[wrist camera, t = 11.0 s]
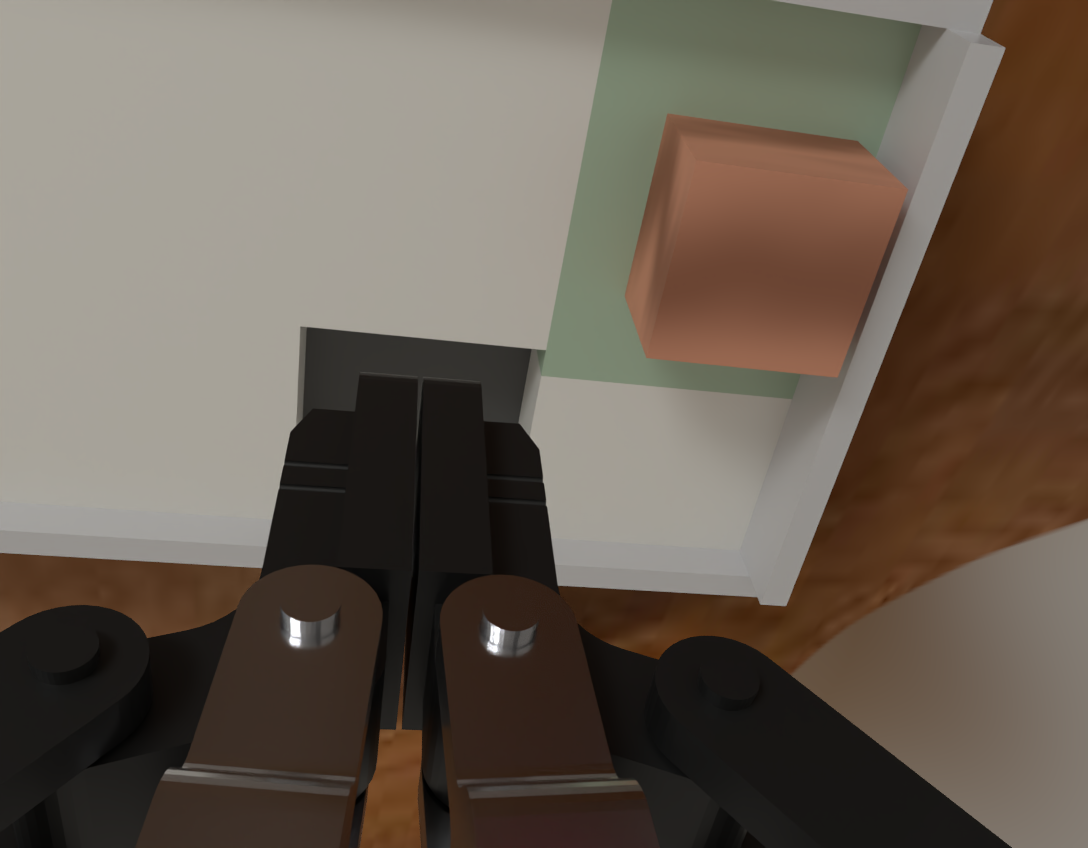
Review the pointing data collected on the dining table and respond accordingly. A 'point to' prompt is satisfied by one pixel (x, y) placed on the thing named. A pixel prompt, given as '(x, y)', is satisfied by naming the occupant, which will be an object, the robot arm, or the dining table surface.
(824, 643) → the dining table surface
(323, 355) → the box
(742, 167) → the block
